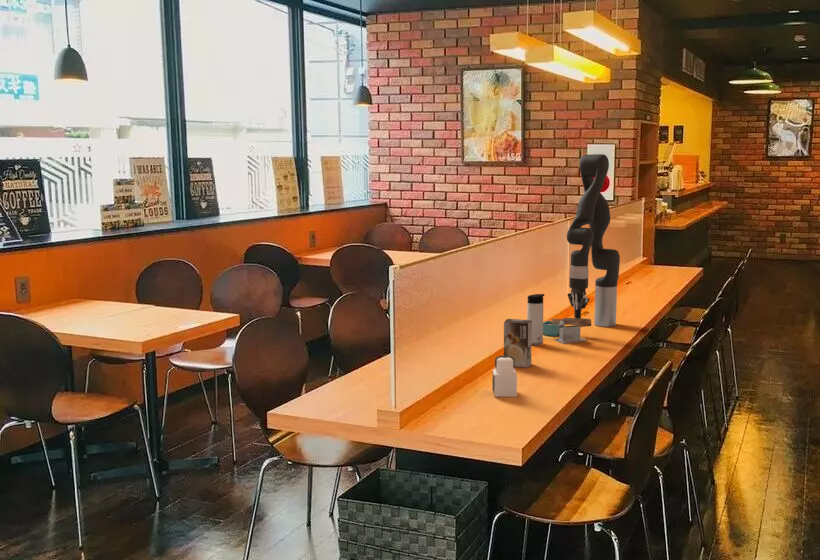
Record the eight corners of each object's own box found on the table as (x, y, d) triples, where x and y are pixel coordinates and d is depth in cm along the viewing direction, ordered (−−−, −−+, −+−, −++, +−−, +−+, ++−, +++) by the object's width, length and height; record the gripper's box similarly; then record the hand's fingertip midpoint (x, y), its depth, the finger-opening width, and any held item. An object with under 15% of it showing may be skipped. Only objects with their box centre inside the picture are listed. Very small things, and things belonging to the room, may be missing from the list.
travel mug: (543, 346, 334) (544, 295, 331) (526, 345, 336) (526, 295, 332) (544, 342, 340) (544, 292, 337) (527, 341, 342) (528, 292, 338)
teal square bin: (546, 331, 361) (547, 320, 360) (563, 333, 357) (564, 322, 356) (539, 334, 354) (539, 323, 354) (556, 336, 350) (556, 325, 349)
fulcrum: (578, 338, 347) (578, 317, 346) (586, 341, 342) (587, 320, 341) (554, 340, 343) (555, 319, 342) (562, 343, 338) (563, 322, 336)
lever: (580, 323, 354) (579, 316, 354) (606, 324, 336) (606, 317, 336) (552, 325, 349) (552, 318, 349) (578, 327, 331) (577, 320, 331)
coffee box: (532, 363, 308) (532, 319, 305) (528, 368, 302) (529, 323, 299) (507, 361, 311) (507, 318, 308) (502, 365, 305) (503, 321, 302)
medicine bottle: (492, 390, 274) (492, 354, 272) (514, 390, 274) (515, 354, 272) (493, 397, 267) (494, 359, 265) (516, 397, 267) (517, 359, 265)
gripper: (562, 274, 353) (561, 315, 356) (580, 279, 341) (578, 321, 344) (577, 273, 356) (576, 314, 359) (596, 278, 344) (594, 320, 347)
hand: (577, 318), depth 351 cm, fingers closed
